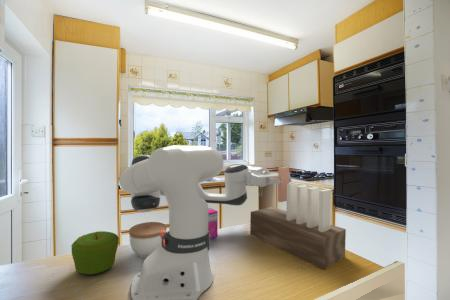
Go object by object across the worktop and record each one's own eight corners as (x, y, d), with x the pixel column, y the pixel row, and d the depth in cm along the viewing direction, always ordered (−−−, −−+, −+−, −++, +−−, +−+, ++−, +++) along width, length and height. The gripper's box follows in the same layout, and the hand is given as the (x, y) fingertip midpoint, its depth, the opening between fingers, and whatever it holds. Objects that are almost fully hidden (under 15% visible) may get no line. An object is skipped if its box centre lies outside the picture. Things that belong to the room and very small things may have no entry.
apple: (64, 284, 62) (64, 244, 62) (80, 261, 74) (80, 228, 73) (113, 277, 65) (113, 239, 65) (121, 257, 77) (121, 224, 77)
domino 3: (299, 224, 83) (300, 187, 83) (296, 223, 84) (296, 186, 84) (307, 221, 86) (308, 185, 86) (304, 220, 87) (304, 185, 87)
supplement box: (198, 236, 95) (199, 209, 95) (210, 233, 99) (210, 207, 99) (206, 241, 91) (206, 213, 91) (218, 237, 94) (218, 210, 94)
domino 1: (280, 202, 90) (281, 167, 90) (277, 201, 91) (278, 167, 91) (288, 200, 93) (289, 167, 93) (285, 199, 94) (286, 166, 94)
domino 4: (310, 228, 79) (311, 189, 79) (306, 226, 81) (307, 188, 80) (318, 225, 82) (319, 187, 82) (314, 224, 84) (315, 186, 83)
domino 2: (289, 221, 87) (290, 185, 86) (286, 219, 88) (286, 184, 88) (297, 218, 90) (298, 183, 89) (294, 217, 91) (294, 183, 91)
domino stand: (323, 269, 71) (324, 238, 71) (250, 234, 98) (250, 211, 98) (344, 257, 79) (345, 229, 79) (271, 227, 106) (272, 206, 106)
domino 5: (322, 232, 76) (323, 191, 75) (318, 230, 77) (319, 190, 77) (330, 229, 79) (331, 189, 78) (326, 227, 80) (326, 188, 80)
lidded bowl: (155, 264, 73) (155, 230, 73) (121, 259, 76) (121, 227, 75) (171, 246, 85) (172, 218, 85) (142, 243, 88) (142, 215, 88)
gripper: (275, 181, 109) (300, 186, 98) (244, 185, 97) (268, 191, 85) (276, 168, 109) (300, 171, 97) (244, 171, 96) (268, 175, 85)
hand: (285, 181), depth 91 cm, fingers closed on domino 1, 5 cm apart
